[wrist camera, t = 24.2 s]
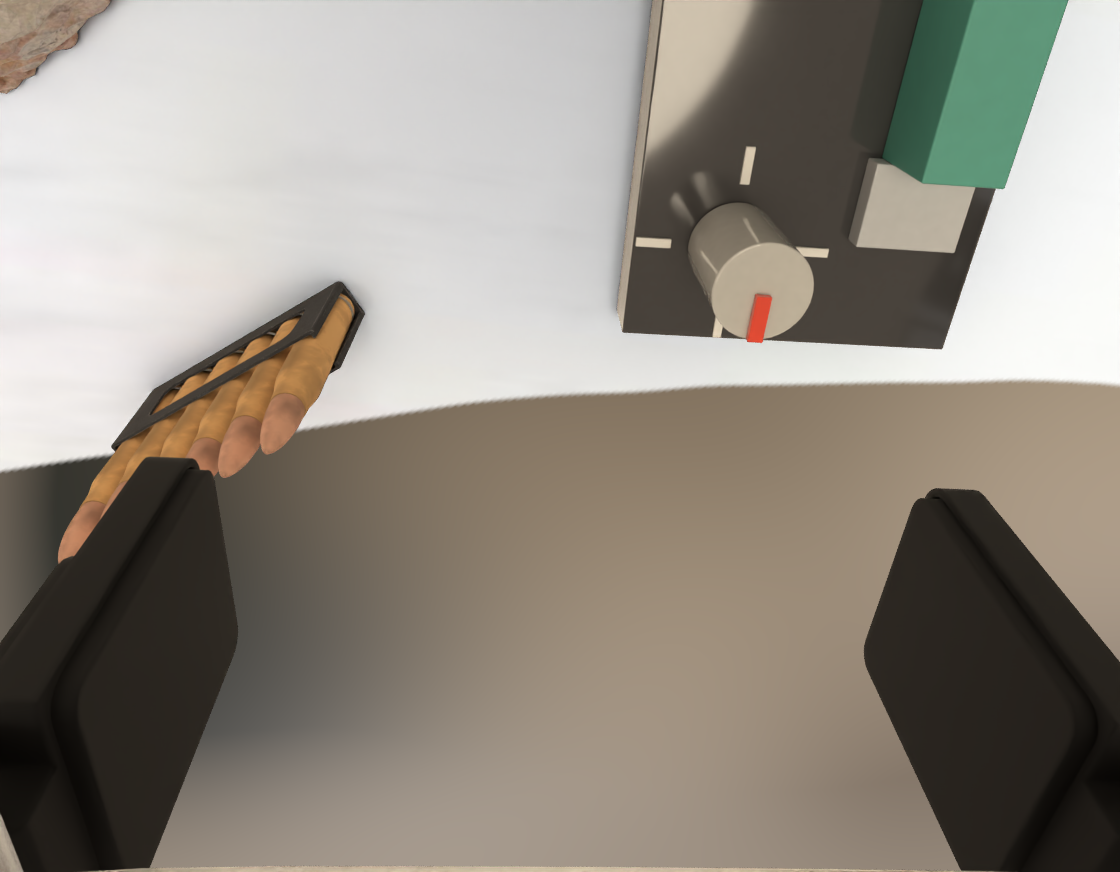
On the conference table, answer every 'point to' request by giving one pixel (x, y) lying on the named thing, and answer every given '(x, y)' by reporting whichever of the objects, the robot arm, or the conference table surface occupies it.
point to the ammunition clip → (230, 401)
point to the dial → (749, 271)
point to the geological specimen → (38, 33)
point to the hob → (780, 165)
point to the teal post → (955, 119)
